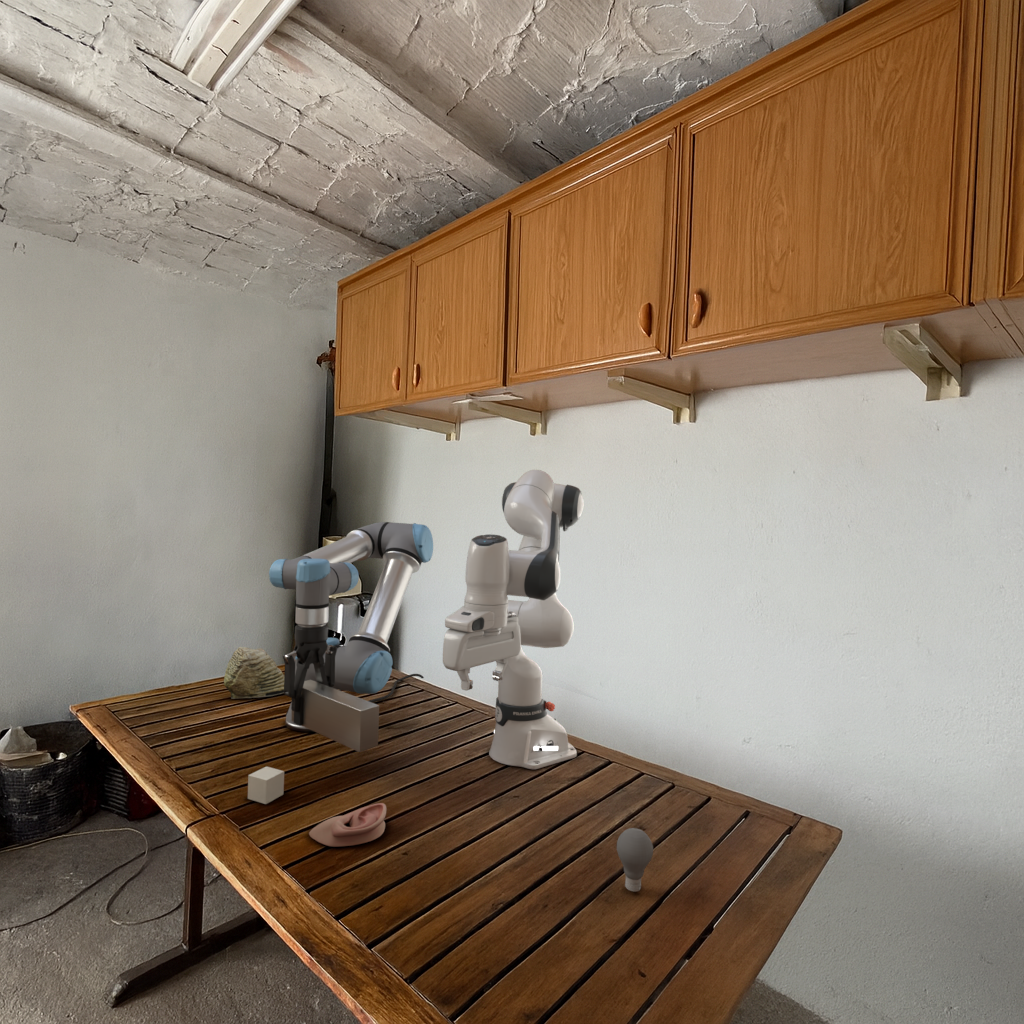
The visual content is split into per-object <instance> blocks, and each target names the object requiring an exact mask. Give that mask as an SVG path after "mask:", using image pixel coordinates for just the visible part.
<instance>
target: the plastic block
mask: <svg viewBox="0 0 1024 1024" xmlns="http://www.w3.org/2000/svg"><path fill="white" fill-rule="evenodd" d="M247 776H248V777H247V779H248V780H247V800H250V801H254V802H257V803H260V804H264V805H268V804H269V803H271V802H273V801H274V800H276V799H278V798H279V797H282V796H283V795H284V793H285V792H284V789H285V788H284V787H285V771H284V770H281V769H278V768H274V767H270V766H265V767H262V768H260V769H258V770H256V771H254V772H252V773H250V774H248V775H247Z"/></svg>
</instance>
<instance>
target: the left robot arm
mask: <svg viewBox="0 0 1024 1024" xmlns="http://www.w3.org/2000/svg"><path fill="white" fill-rule="evenodd" d="M433 554H434V539H433V534H432V532H431V529H430V527H429V526H427V525H425V524H420V523H415V522H413V523H406V522H391V521H380V522H375V523H371V524H367V525H364V526H361V527H359V528H356V529H354V530H351V531H350V532H348V533H347V534H346V536H345V537H343V538H341V539H338V540H336V541H334V542H331V543H330V544H326V545H325V546H322V547H320V548H317V549H315V550H313V551H310V552H307V553H305V554H303V555H301V556H298V557H295V558H293V559H288V558H280V559H276V560H274V561H273V562H272V564H271V565H270V568H269V571H268V575H269V576H268V577H269V582H270V584H271V585H272V586H273V587H275V588H279V589H283V590H293V591H294V590H295V624H296V625H295V627H294V641H295V645H294V648H293V651H291V652H289V653H283V654H282V659H283V662H284V673H283V675H284V693H283V695H284V696H287V697H289V698H291V702H290V704H289V708H288V710H287V711H286V712H285V726H286V728H287V729H289V730H291V731H294V732H295V731H296V732H301V733H315V732H314V731H312V730H310V729H308V728H306V727H304V726H301V725H303V707H304V697H301V693H302V689H303V685H304V681H307V680H313V681H316V682H318V683H321V684H324V685H326V686H329V687H332V688H334V689H337V690H340V691H343V692H351V693H357V694H359V695H363V694H366V695H367V694H368V695H373V694H377V693H378V692H380V691H381V690H382V689H383V688H384V687H385V686H386V685H387V684H388V682H389V680H390V677H391V675H392V671H393V667H392V666H393V664H394V663H393V656H392V655H391V653H390V652H391V648H390V646H389V644H388V641H389V639H390V636H391V634H392V631H393V629H394V625H395V622H396V619H397V617H398V614H399V611H400V608H401V606H402V603H403V600H404V598H405V596H406V593H407V592H406V591H408V587H409V584H410V581H411V578H412V576H413V574H415V573H417V572H418V571H420V568H421V566H422V563H423V564H426V563H428V562H430V561H431V560H432V557H433ZM367 559H380V560H381V559H382V561H383V563H384V566H383V569H382V571H381V573H380V576H379V579H378V581H377V583H376V586H375V589H374V592H373V594H372V596H371V599H370V602H369V604H368V606H367V609H366V612H365V614H364V617H363V619H362V621H361V624H360V627H359V629H358V632H357V633H356V634H354V635H351V636H350V637H349V640H348V641H347V644H346V645H340V644H341V641H340V639H339V638H337V637H329V625H328V624H327V623H329V617H330V616H329V615H330V614H329V611H330V610H329V608H330V607H329V605H330V596H333V595H338V594H345V593H347V592H348V591H351V590H353V589H354V588H355V587H356V586H357V585H358V583H359V579H360V576H359V571H358V569H357V567H356V566H355V565H354V564H352V563H353V562H356V561H359V562H361V561H365V560H367ZM412 677H419V678H420V679H424V678H425V677H424V676H423V675H422V674H421V673H411V674H408V675H405V676H403V677H400V678H398V679H396V680H395V681H394V683H393V686H392V687H391V690H390V692H389V693H388V694H386V695H383V696H380V697H377V698H373V699H370V700H368V701H369V702H372V703H375V702H379V701H383V700H385V699H387V698H390V697H391V696H392V695H393V694H394V693H395V692H394V691H395V689H396V687H397V684H398V683H399V682H403V681H404V680H406V679H409V678H412ZM292 711H294V722H293V721H292Z"/></svg>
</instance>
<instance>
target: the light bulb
mask: <svg viewBox="0 0 1024 1024" xmlns="http://www.w3.org/2000/svg"><path fill="white" fill-rule="evenodd" d="M616 852H617V856H618V858H619V860H620V862H621V864H622V866H623V872H624V875H625V882H624V887H625V889H627V890H628V891H630V892H633V893H634V892H635V893H636V892H639V891H641V889H642V878H643V876H644V875H645V869H646V868H647V867H648V865H649V864H650V862H651V860H652V858H653V855H654V845H653V842H652V840H651V838H650V836H649V835H648V834H647V832H645V831H644V830H642V829H640V828H636V827H629V828H627V829H625V830H624V831H623V832H622V833H620V835H619V836H618V839H617V841H616Z"/></svg>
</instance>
